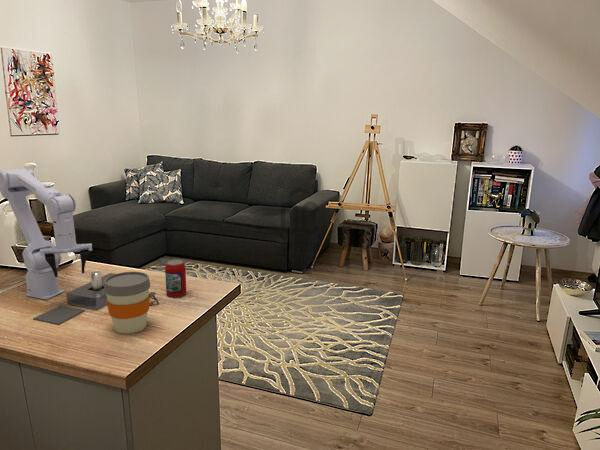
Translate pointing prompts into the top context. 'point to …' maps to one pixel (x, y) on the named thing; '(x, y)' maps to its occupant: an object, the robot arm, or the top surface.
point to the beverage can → (175, 278)
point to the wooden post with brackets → (153, 298)
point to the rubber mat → (59, 315)
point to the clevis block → (88, 296)
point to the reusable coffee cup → (128, 300)
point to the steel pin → (96, 281)
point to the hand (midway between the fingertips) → (69, 274)
